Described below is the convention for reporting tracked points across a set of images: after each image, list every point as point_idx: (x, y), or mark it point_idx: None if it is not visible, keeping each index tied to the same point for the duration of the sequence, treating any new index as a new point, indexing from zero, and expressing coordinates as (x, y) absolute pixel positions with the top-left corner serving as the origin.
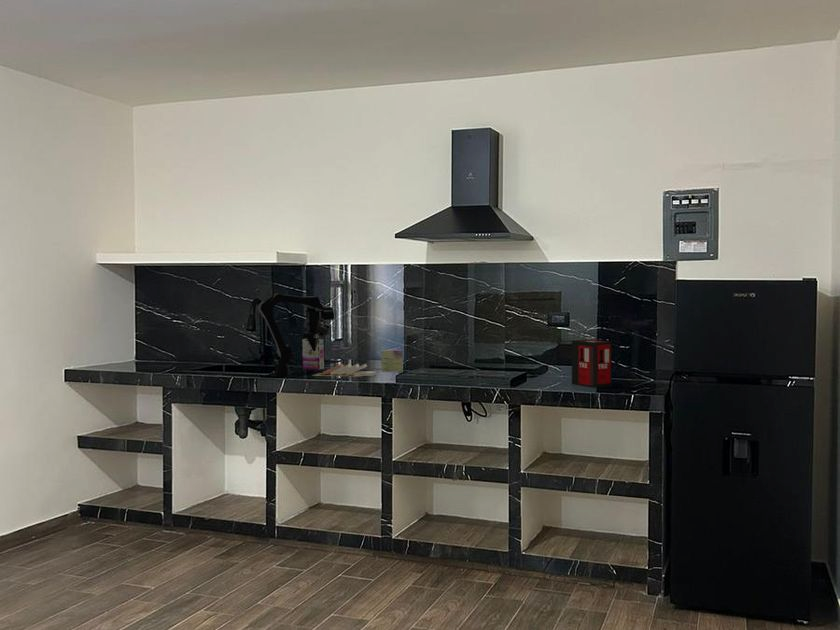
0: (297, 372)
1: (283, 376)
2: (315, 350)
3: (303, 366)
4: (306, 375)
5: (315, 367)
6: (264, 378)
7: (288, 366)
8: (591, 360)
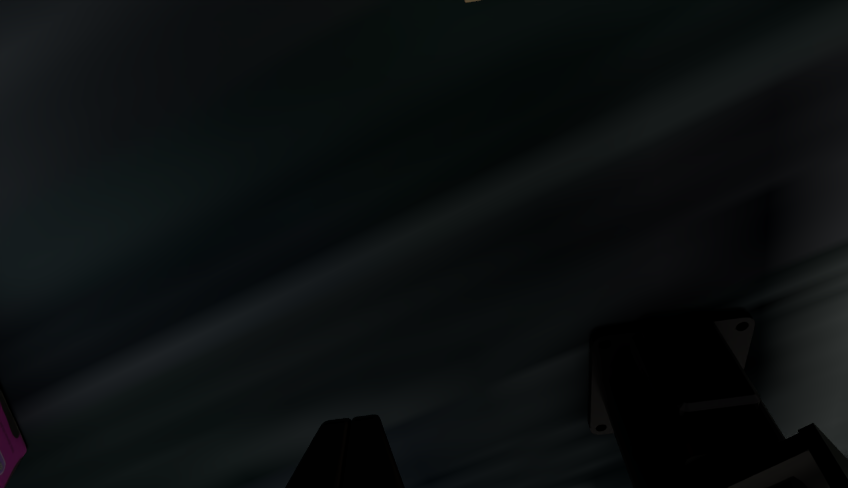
0: (288, 384)
1: (748, 329)
2: (341, 426)
3: (7, 473)
4: (542, 157)
5: None
6: (842, 420)
7: (675, 421)
8: None
